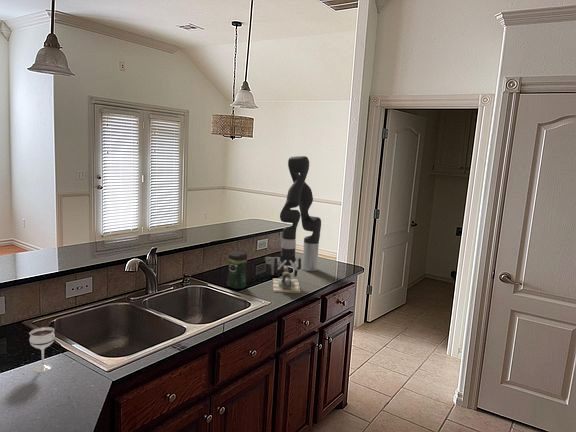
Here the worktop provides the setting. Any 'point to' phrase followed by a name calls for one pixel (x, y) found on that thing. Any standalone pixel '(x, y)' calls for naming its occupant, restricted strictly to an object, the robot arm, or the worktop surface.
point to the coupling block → (286, 275)
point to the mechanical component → (271, 262)
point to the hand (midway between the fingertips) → (286, 276)
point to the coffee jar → (237, 270)
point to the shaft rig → (286, 284)
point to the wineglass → (42, 344)
